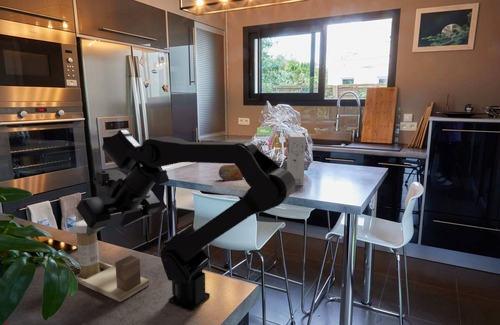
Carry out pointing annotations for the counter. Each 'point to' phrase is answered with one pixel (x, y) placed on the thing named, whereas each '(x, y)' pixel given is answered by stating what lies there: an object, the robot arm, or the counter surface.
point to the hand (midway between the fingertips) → (106, 229)
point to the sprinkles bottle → (87, 251)
